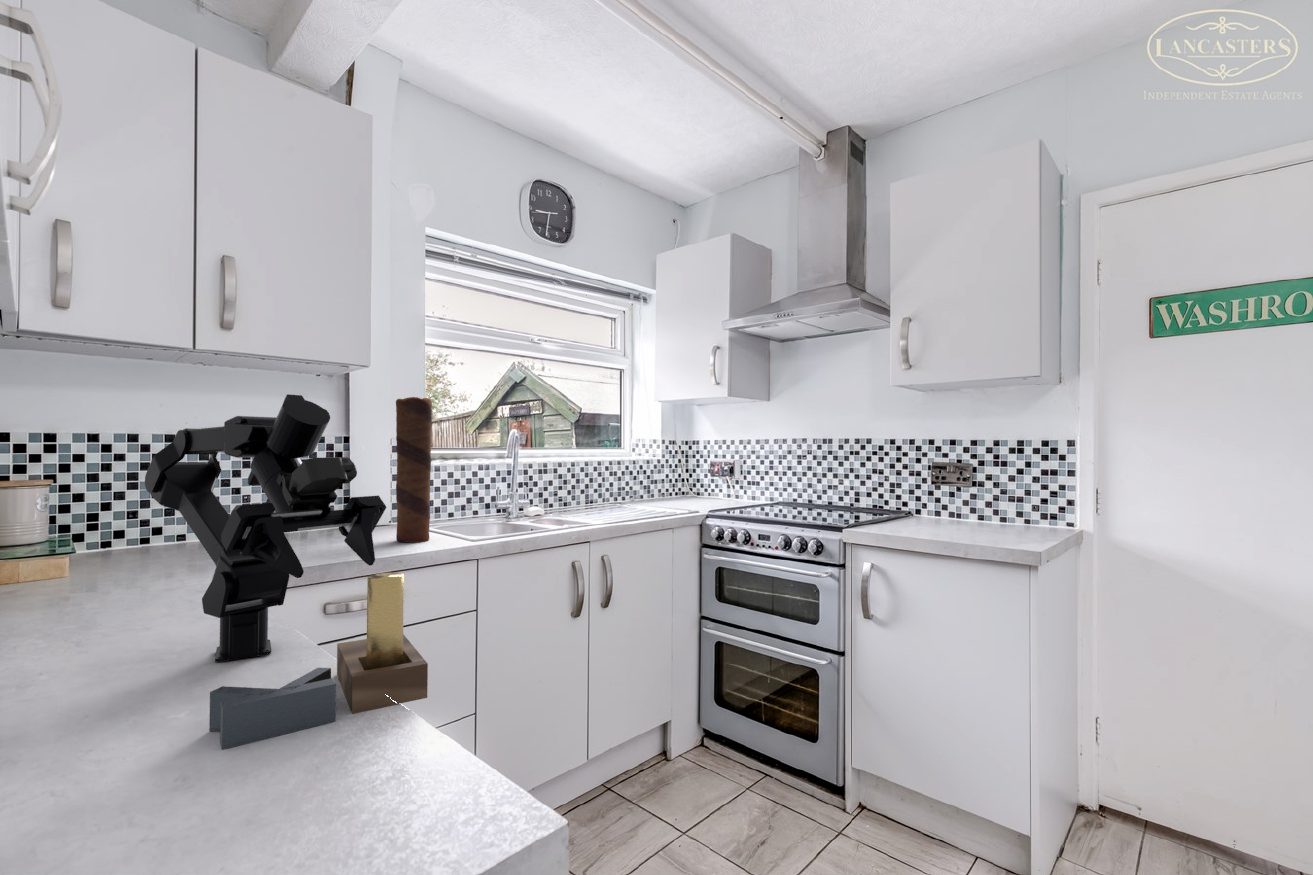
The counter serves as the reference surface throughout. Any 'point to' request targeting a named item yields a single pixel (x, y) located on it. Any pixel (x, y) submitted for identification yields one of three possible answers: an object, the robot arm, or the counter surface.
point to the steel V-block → (272, 709)
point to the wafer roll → (413, 468)
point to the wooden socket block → (380, 677)
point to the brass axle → (384, 620)
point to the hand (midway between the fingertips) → (338, 568)
